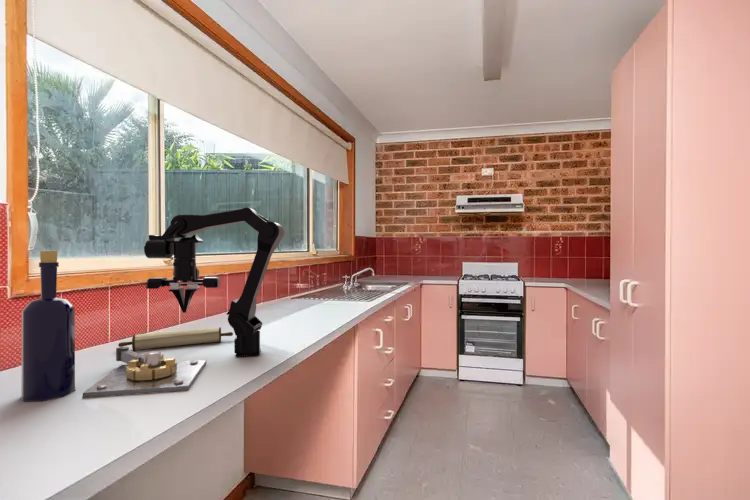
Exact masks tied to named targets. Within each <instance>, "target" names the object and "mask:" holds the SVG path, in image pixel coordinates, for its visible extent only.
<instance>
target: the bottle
mask: <svg viewBox="0 0 750 500" xmlns="http://www.w3.org/2000/svg"><path fill="white" fill-rule="evenodd" d="M39 257H40V259H39V260H40V262H38V268H39V269H40V298H37V299H34V300H30V301H29V302H28V304H27V305H26V306H25V307H24V308H23V309H21V375H20V377H21V382H20V383H21V386H20V387H21V389H20V390H21V391H20V392H21V397H20V399H21V398H22V399H23V401H24V402H23V401H22V402H23V403H30V402H31V403H32V402H33V403H35V402H39V403H40V402H42V403H43V402H47V401H50V400H55V399H56V400H57V399H59V398H64V397H66V396H68V395H70V394H71V393H75V392H76V390H77V389H76V369H75V368H76V349H75V348H76V347H75V346H76V345H75V344H76V341H75V340H76V338H75V337H76V335H75V333H76V331H75V330H76V329H75V327H76V326H75V325H76V318H75V317H76V316H75V315H76V314H75V313H76V312H75V311H76V310H75V307H74V305H73V304H72V303H70V302H69V301H68V299H66V298H63V297H62V298H61V297H57V291H58V290H57V289H58V287H57V286H58V268H59V266H60V265H59V262H58V251H57V250H40V251H39ZM22 399H21V400H22Z"/></svg>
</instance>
